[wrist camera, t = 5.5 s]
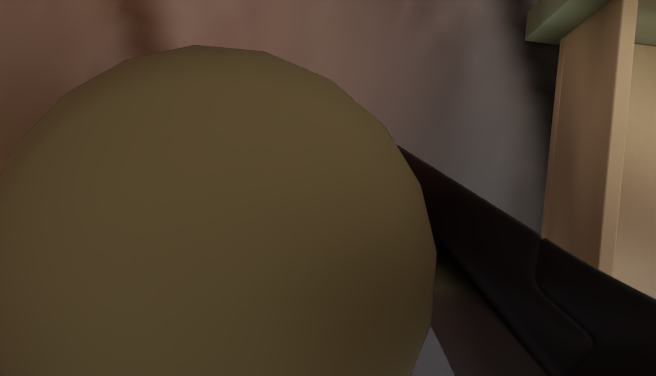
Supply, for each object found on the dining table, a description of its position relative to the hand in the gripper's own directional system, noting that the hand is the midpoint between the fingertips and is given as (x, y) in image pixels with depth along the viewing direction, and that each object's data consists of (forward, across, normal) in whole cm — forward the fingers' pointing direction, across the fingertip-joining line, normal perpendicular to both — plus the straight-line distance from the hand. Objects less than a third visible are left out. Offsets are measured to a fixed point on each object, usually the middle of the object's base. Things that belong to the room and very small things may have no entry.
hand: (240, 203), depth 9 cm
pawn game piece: (+4, 0, +5) cm, 7 cm away
